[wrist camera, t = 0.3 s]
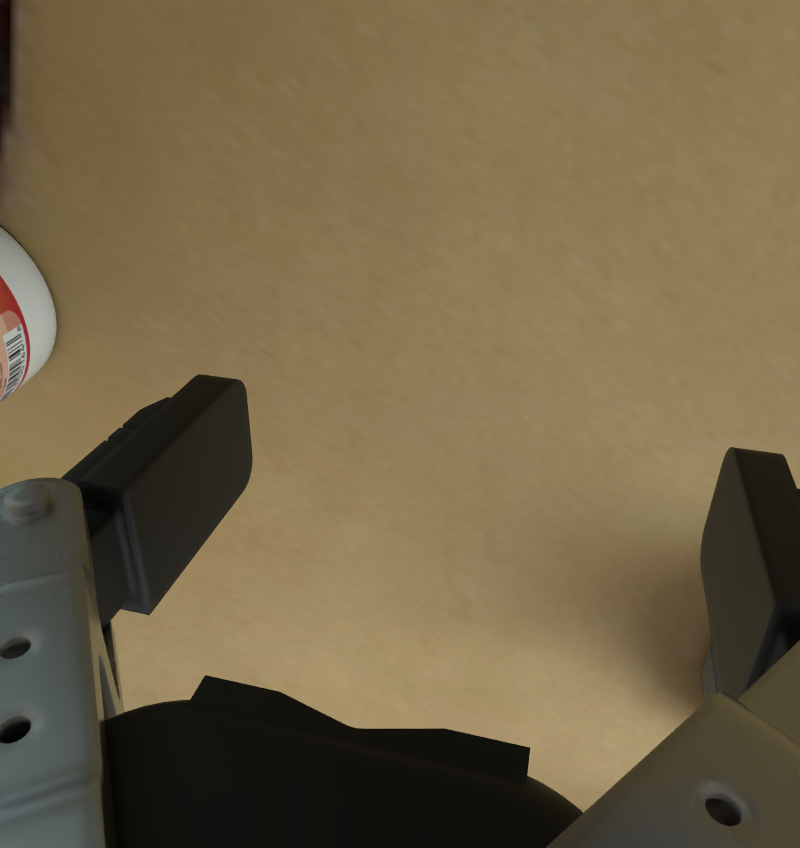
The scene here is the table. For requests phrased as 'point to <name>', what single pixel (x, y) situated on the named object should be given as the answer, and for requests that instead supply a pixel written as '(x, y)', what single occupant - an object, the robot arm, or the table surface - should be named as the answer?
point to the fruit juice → (22, 317)
